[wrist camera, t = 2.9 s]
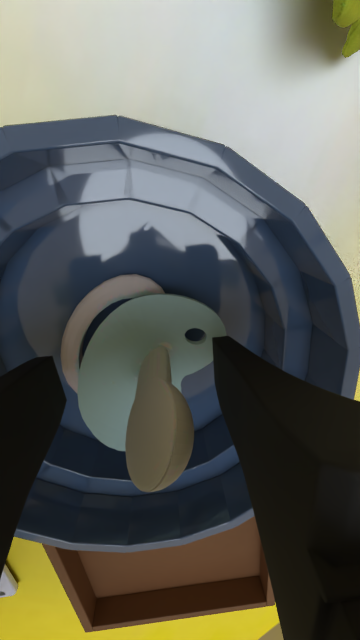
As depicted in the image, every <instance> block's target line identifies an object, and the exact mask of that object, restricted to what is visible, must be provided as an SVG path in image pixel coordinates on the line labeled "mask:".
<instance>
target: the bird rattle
mask: <svg viewBox="0 0 360 640" xmlns="http://www.w3.org/2000/svg"><path fill="white" fill-rule="evenodd" d="M332 19H333V21H334V22H335V24H336V25H338V26H339V27H341V28H344V27H348V26H350V25H351V24H352V25H351V27H350V29H349V31H348V35H347V40H346V42H345V44H344V46H343V49H342V55H343V56H344V57H345V58H346V57H349V56H351V55H352V54H354V53H355V52H357V51H358V50H360V0H333V10H332Z"/></svg>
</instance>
